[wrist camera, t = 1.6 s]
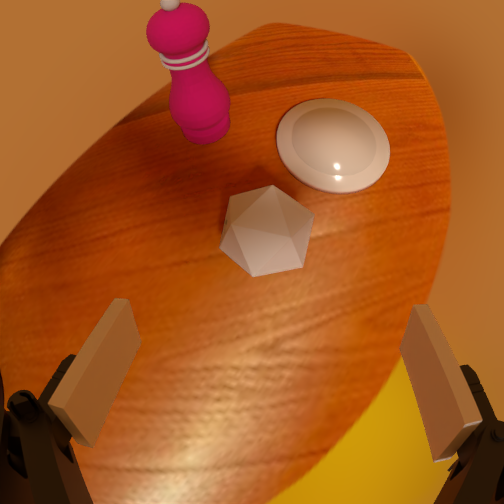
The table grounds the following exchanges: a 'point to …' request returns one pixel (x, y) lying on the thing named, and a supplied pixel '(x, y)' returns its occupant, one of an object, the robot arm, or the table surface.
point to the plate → (333, 146)
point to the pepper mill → (190, 71)
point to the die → (266, 231)
